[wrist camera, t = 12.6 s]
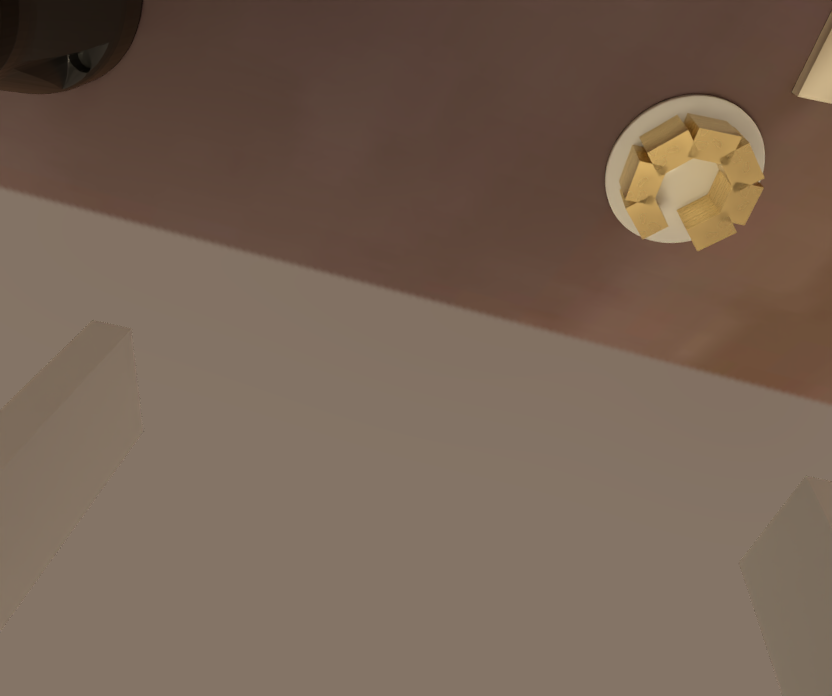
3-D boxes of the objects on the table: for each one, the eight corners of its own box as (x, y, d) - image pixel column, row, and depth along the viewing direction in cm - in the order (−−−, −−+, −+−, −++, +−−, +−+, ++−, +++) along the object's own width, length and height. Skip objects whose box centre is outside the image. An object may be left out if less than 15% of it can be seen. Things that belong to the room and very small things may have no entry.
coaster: (585, 222, 42) (585, 226, 41) (635, 79, 36) (637, 81, 36) (720, 251, 41) (723, 256, 41) (791, 112, 36) (794, 114, 36)
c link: (647, 104, 36) (656, 118, 34) (767, 129, 36) (785, 146, 34) (607, 213, 40) (612, 233, 38) (715, 236, 40) (727, 258, 38)
